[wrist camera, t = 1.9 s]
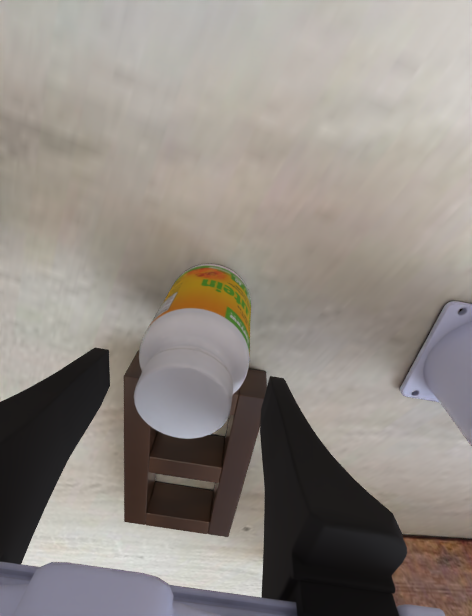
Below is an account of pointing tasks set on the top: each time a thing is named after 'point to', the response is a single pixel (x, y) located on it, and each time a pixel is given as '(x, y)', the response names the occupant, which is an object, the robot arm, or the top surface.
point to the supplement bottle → (195, 353)
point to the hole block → (189, 463)
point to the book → (436, 574)
